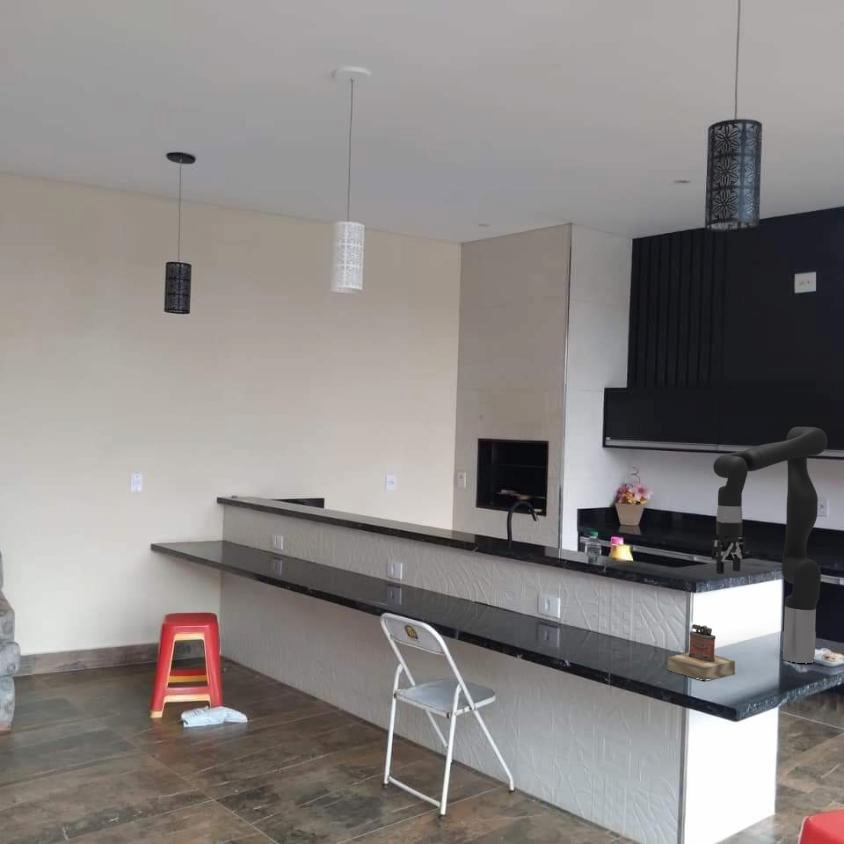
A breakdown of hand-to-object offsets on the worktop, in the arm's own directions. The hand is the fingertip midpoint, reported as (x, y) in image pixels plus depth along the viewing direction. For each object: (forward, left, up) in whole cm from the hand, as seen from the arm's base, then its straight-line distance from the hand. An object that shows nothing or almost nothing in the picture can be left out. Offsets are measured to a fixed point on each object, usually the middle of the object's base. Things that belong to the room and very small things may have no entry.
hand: (728, 572), depth 277 cm
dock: (+12, 0, -29) cm, 32 cm away
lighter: (+12, 0, -26) cm, 28 cm away
